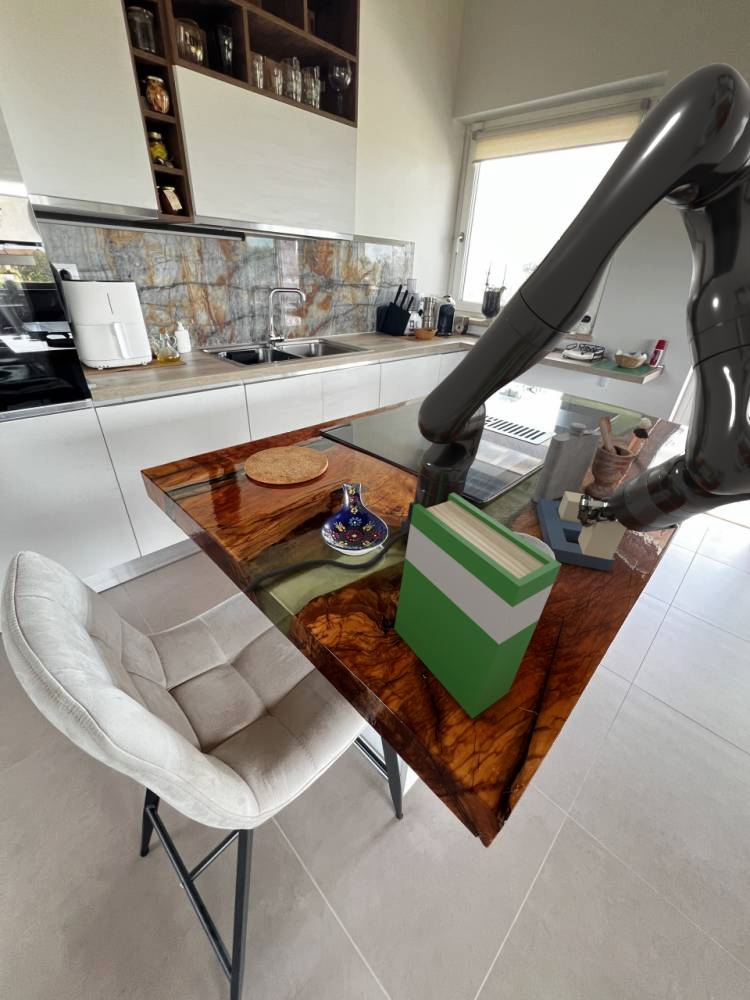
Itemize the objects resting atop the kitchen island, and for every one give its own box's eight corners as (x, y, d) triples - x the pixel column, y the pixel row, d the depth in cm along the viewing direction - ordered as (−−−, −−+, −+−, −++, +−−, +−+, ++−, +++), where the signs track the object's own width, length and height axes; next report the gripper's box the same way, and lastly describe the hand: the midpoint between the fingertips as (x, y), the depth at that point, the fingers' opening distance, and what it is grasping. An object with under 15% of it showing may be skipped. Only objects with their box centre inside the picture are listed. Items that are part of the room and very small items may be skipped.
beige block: (611, 560, 69) (630, 520, 65) (582, 554, 69) (600, 515, 65) (604, 544, 73) (622, 506, 68) (577, 539, 73) (594, 500, 69)
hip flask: (539, 504, 106) (563, 431, 96) (527, 496, 109) (550, 425, 98) (580, 493, 113) (607, 424, 102) (568, 486, 116) (594, 419, 105)
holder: (547, 559, 87) (552, 548, 85) (536, 508, 104) (539, 497, 103) (609, 571, 85) (615, 560, 83) (587, 517, 103) (591, 507, 101)
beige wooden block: (557, 529, 97) (568, 500, 93) (554, 519, 101) (565, 490, 96) (577, 533, 96) (589, 504, 92) (573, 522, 100) (585, 494, 96)
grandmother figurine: (618, 449, 143) (633, 414, 136) (626, 448, 144) (642, 414, 138) (636, 459, 137) (652, 423, 130) (644, 458, 138) (661, 422, 131)
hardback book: (394, 628, 67) (413, 505, 55) (428, 611, 71) (453, 492, 59) (472, 718, 55) (519, 586, 43) (508, 692, 59) (561, 564, 47)
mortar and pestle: (565, 486, 116) (591, 419, 105) (578, 478, 121) (603, 412, 111) (608, 504, 109) (639, 433, 99) (619, 494, 114) (650, 426, 104)
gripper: (716, 481, 54) (645, 510, 70) (601, 462, 56) (559, 495, 72) (714, 537, 52) (642, 553, 69) (596, 515, 54) (553, 536, 71)
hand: (600, 523), depth 70 cm, fingers closed on beige block, 4 cm apart
